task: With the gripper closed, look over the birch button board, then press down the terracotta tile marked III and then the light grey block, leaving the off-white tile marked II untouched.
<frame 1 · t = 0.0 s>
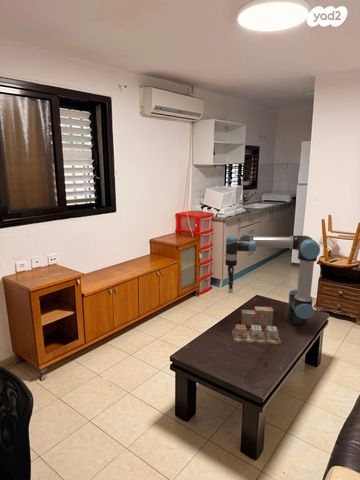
hand: (229, 288, 224), 28 cm above the table, fingers open, 13 cm apart
button board: (255, 338, 215), on the table
stack of blocks: (256, 324, 234), on the table
tile 2: (256, 329, 214), point 6 cm above the table, slide at 0.0 cm
light grey block 1: (271, 330, 213), point 6 cm above the table, slide at 0.0 cm
tile 3: (240, 329, 215), point 6 cm above the table, slide at 0.0 cm
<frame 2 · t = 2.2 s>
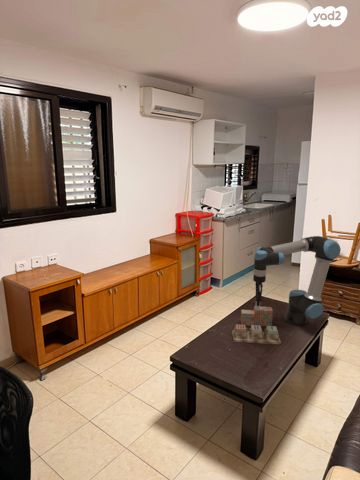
hand: (257, 309, 210), 20 cm above the table, fingers closed
nothing on the table moved.
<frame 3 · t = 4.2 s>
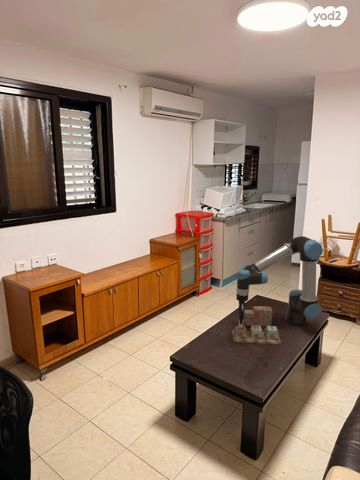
hand: (240, 327, 214), 7 cm above the table, fingers closed
tile 3: (240, 330, 215), point 5 cm above the table, slide at 0.8 cm, touching gripper
everything else where it was.
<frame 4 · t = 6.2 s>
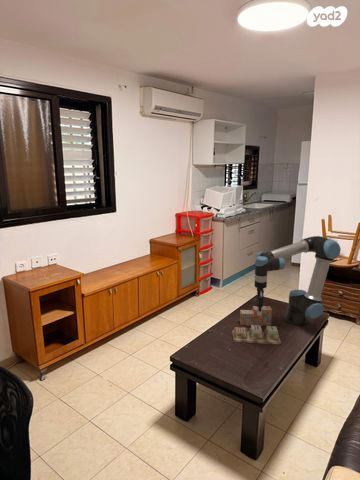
hand: (259, 315, 211), 17 cm above the table, fingers closed
tile 3: (240, 332, 215), point 3 cm above the table, slide at 2.6 cm
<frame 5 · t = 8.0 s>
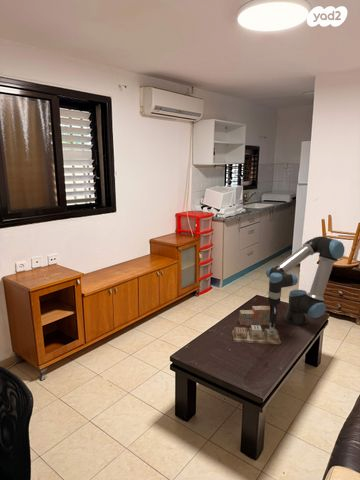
hand: (271, 330, 212), 6 cm above the table, fingers closed
light grey block 1: (271, 333, 213), point 4 cm above the table, slide at 2.2 cm, touching gripper
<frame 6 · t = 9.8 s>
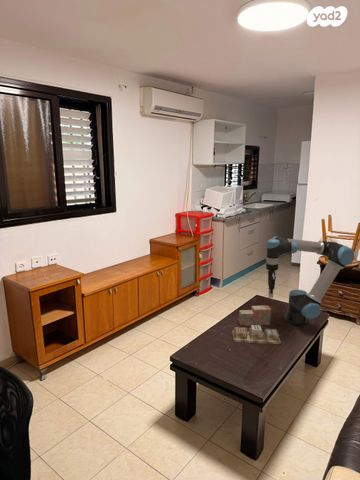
hand: (270, 297, 215), 26 cm above the table, fingers closed
light grey block 1: (271, 334, 213), point 3 cm above the table, slide at 2.6 cm
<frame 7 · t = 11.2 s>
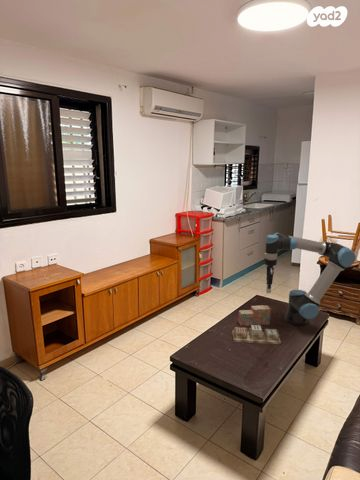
hand: (268, 292, 217), 28 cm above the table, fingers closed
at the end: tile 3 slide at 2.6 cm; light grey block 1 slide at 2.6 cm; tile 2 slide at 0.0 cm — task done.
